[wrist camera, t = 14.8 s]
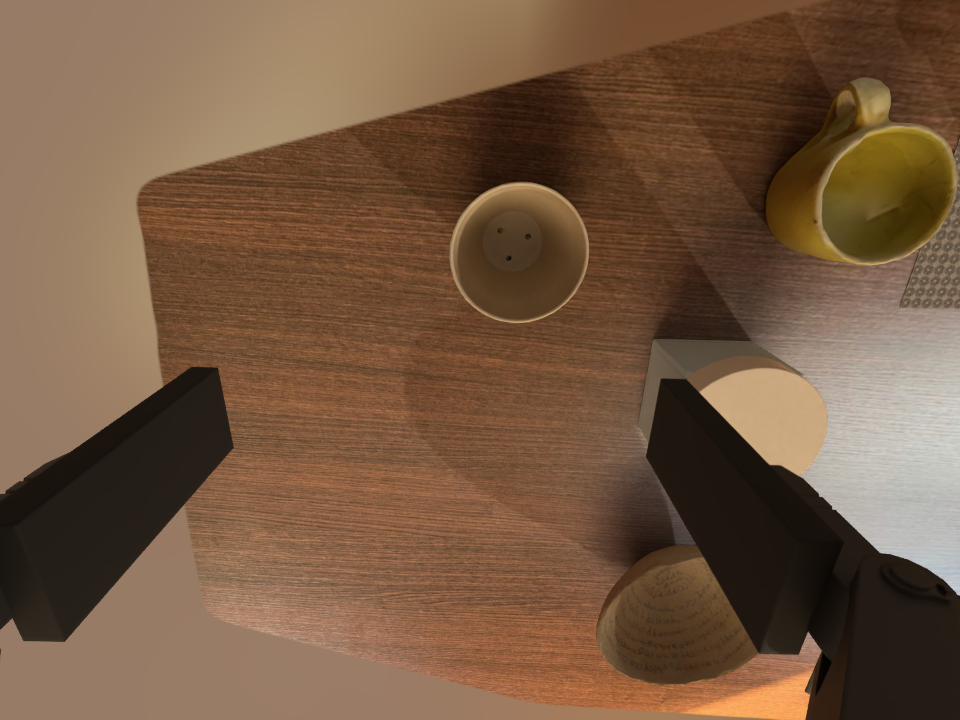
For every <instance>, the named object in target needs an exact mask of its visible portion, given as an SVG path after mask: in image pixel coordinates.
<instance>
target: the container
mask: <svg viewBox="0 0 960 720" xmlns="http://www.w3.org/2000/svg"><path fill="white" fill-rule="evenodd" d="M737 356H759V357H764V358H769V359H772V360H774V361H777V362H779V363H781V364H783V365H785V366H787V367H788V368H790V369H791V370H793V371H794V372H796V373H797V374H799V375H800V376H802V377H803V374H802V373H800V372H799V371H797V370H796V369H794V368H792V367H791V366H789V365H788V364H786V363H785V362H783V361H782V360H780V359H779V358H777V357H775V356H774V355H772V354H771V353H769V352H768V351H766V350H765V349H763V348H761V347H760V346H758V345H757V344H755V343H754V342H752V341H724V340H685V339H653V343H652V348H651V354H650V360H649V366H648V371H647V377H646V383H645V388H644V394H643V400H642V406H641V411H640V417H639V423H638V426H639V428H640V430H641V431H642V433H643V434H644V436H645V438H646V439H647V441H648V443H649V438H650V433H651V428H652V422H653V417H654V412H655V406H656V401H657V396H658V390H659V385H660V380H661V378H668V379H687V378H688V377H689V376H690V375H692V374H693V373H695V372H696V371H698V370H699V369H701V368H703V367H705V366H707V365H709V364H711V363H714V362H716V361H719V360H723V359H726V358H731V357H737Z"/></svg>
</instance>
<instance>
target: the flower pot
mask: <svg viewBox="0 0 960 720" xmlns="http://www.w3.org/2000/svg"><path fill="white" fill-rule="evenodd" d="M498 230H500V232H501V233H499V232H498ZM527 234H529V236H526V235H527ZM449 256H450V266H451V271H452V275H453V278H454V280H455V283H456V285H457V287H458V289H459V290H460V292H461V294H462V295H463V296H464V298H465V299H466V300H467V301H468V302H469V303H470V304H471V305H472V306H473V307H474V308H475V309H477V310H478V311H480V312H481V313H483V314H485V315H486V316H489V317H491V318H493V319H496V320H500V321H504V322H511V323H523V322H530V321H535V320H538V319H541V318H544V317H546V316H548V315H550V314H552V313H554V312H555V311H557V310H558V309H559V308H561V307H562V306H563V305H564V304H566V302H567V301H568V300H569V299H570V298H571V297H572V296H573V295H574V293H575V292H576V291H577V289H578V288H579V286H580V284H581V282H582V280H583V278H584V275H585V272H586V269H587V264H588V258H589V242H588V236H587V231H586V228H585V225H584V223H583V221H582V219H581V217H580V215H579V213H578V212H577V210H576V209H575V208H574V206H573V205H572V204H571V203H570V202H569V201H568V200H567V199H566V198H565V197H564V196H562V195H561V194H560V193H558V192H556V191H555V190H553V189H551V188H549V187H547V186H544V185H540V184H536V183H531V182H511V183H506V184H502V185H499V186H496V187H494V188H491V189H489V190H488V191H486V192H484V193H483V194H481V195H480V196H478V197H477V198H476V199H475V200H474V201H472V202H471V203H470V204H469V205H468V207H467V208H466V209H465V210H464V212H463V213H462V214H461V216H460V218H459V220H458V221H457V223H456V226H455V228H454V230H453V234H452V237H451V243H450V253H449ZM510 256H511V260H509V257H510Z"/></svg>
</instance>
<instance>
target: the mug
mask: <svg viewBox="0 0 960 720" xmlns="http://www.w3.org/2000/svg"><path fill="white" fill-rule="evenodd" d="M890 106H891V97H890V90H889V88H888V87H887V86H885V85H884V84H883V83H882V81H880V80H876V79H872V78H867V77H864V78H859V79H856V80H853V81H851V82H849V83H848V84H847V85H846V86H845V87H843V88H842V89H841V90H839V93H838V95H837V96H836V97H835V99H834V100H833V102H832V105H831V107H830V109H829V111H828V113H827V116H826V121H825V123H824V125H823V128H822V130H821V131H820V133H818V134H817V135H816V136H814V137H813V138H812V139H811V140H810V141H809V142H808V143H807V144H806V145H805V146H804V147H803V148H802V149H800V150H799V151H798V152H797V153H796V154H795V155H793V156H792V157H791V158H790V159H789V161H788V162H787V163H786V164H785V165H784V166H783V167H782V168H781V169H780V170H779V171H778V172H777V174H776V175H775V177H774V178H773V180H772V182H771V184H770V186H769V189H768V192H767V197H766V219H767V223H768V226H769V229H770V231H771V233H772V234H773V236H774V237H775V238H776V239H777V240H778V241H779V242H780V243H781V244H783V245H784V246H786V247H787V248H789V249H791V250H793V251H796V252H800V253H804V254H808V255H812V256H816V257H820V258H823V259H828V260H832V261H839V262H846V263H852V264H858V265H865V266H870V265H877V264H884V263H887V262H890V261H893V260H899V259H902V258H904V257H906V256H908V255H910V254H911V253H912V252H914V251H915V250H916V249H918V248H920V247H922V246H923V245H925V244H926V243H927V242H928V241H929V240H930V239H931V238H932V237H933V236H934V235H935V233H936V232H937V231H938V230H939V228H940V227H941V225H942V224H943V223H944V221H945V219H946V218H947V216H948V214H949V212H950V210H951V207H952V205H953V202H954V198H955V193H956V188H957V184H958V179H957V166H956V161H955V158H954V155H953V152H952V149H951V147H950V146H949V144H948V142H947V141H946V140H945V139H944V138H943V137H942V136H940V135H939V134H938V133H937V132H935V131H934V130H933V129H931V128H928V127H926V126H923V125H920V124H912V123H896V122H891V121H890V120H889V118H888V113H889V109H890ZM855 115H856V116H855ZM854 117H855V121H854V122H853V124H852V125H851V126H850V124H851V122H852V120H853V119H854ZM849 126H850V127H849Z"/></svg>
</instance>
